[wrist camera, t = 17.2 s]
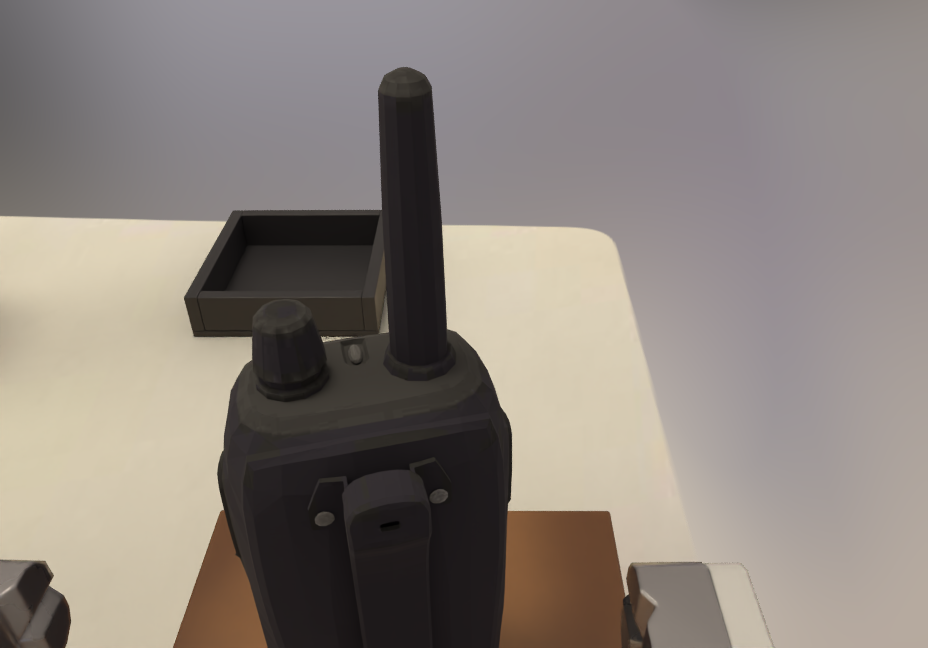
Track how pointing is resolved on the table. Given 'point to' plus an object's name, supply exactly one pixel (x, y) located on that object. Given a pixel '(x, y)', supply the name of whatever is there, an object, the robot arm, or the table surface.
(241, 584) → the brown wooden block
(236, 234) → the tray
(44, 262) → the table surface
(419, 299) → the two-way radio
